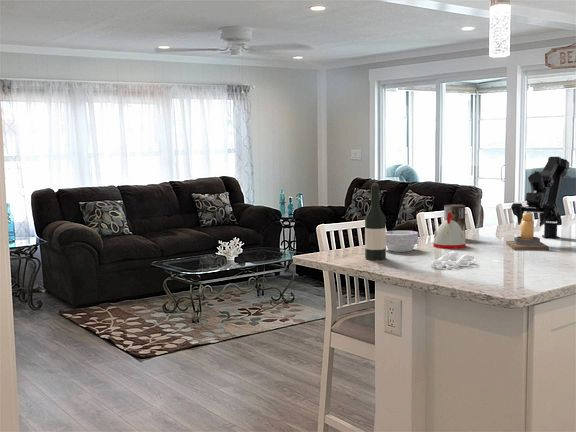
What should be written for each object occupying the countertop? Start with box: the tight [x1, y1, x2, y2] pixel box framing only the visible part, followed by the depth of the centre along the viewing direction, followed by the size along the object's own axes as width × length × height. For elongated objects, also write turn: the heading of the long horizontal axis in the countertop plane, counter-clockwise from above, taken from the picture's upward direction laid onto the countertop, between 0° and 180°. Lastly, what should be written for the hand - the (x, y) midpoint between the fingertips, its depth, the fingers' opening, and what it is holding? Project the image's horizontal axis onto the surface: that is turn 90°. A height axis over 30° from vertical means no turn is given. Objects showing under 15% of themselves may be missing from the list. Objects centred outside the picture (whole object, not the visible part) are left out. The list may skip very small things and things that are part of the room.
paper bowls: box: [386, 230, 419, 253], centre depth 288 cm, size 15×15×8 cm
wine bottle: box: [364, 183, 387, 261], centre depth 268 cm, size 8×8×30 cm
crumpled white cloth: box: [428, 250, 477, 271], centre depth 252 cm, size 19×14×4 cm
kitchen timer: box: [432, 213, 467, 250], centre depth 296 cm, size 14×14×15 cm
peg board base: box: [505, 235, 550, 251], centre depth 290 cm, size 16×14×4 cm
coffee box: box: [443, 204, 466, 235], centre depth 316 cm, size 9×6×16 cm
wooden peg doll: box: [520, 212, 535, 239], centre depth 290 cm, size 5×5×13 cm
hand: (529, 225), depth 291 cm, fingers open, 9 cm apart
